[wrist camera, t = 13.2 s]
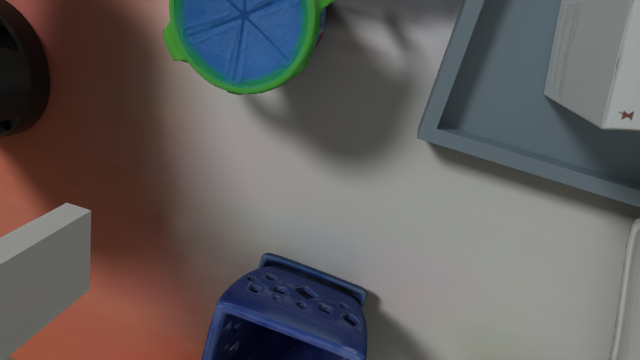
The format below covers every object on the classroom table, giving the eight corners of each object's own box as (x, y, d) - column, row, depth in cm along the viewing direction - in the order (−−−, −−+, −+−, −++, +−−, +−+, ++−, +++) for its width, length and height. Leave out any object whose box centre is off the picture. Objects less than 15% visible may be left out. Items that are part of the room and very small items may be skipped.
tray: (417, 128, 39) (416, 138, 35) (511, -135, 31) (520, -153, 28) (651, 200, 36) (673, 217, 33) (815, -66, 29) (864, -78, 25)
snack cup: (222, 92, 42) (163, 113, 32) (190, -25, 39) (114, -40, 30) (384, 59, 37) (369, 71, 28) (361, -77, 34) (337, -113, 25)
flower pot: (346, 369, 50) (323, 467, 39) (239, 326, 51) (188, 409, 40) (384, 275, 44) (369, 358, 34) (263, 231, 46) (212, 296, 35)
